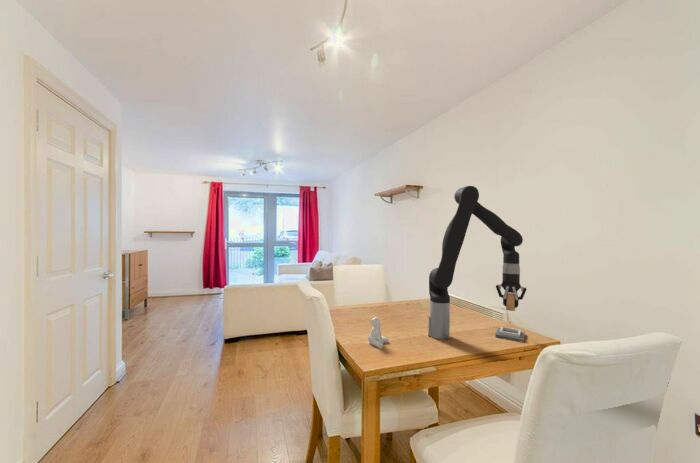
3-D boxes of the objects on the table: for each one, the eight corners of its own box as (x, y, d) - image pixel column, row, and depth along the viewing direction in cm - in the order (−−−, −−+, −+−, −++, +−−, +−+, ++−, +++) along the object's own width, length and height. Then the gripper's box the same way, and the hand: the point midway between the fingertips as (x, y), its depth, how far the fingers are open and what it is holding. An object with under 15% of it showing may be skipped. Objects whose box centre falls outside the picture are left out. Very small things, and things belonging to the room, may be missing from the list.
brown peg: (505, 310, 145) (505, 293, 145) (506, 308, 149) (506, 292, 149) (514, 311, 143) (515, 295, 143) (515, 309, 146) (515, 293, 146)
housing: (495, 336, 144) (495, 331, 144) (498, 330, 154) (498, 324, 154) (523, 342, 138) (523, 336, 138) (524, 334, 148) (524, 329, 148)
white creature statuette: (381, 349, 127) (381, 321, 127) (363, 345, 132) (364, 318, 132) (389, 342, 136) (389, 316, 136) (372, 338, 140) (372, 313, 140)
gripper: (494, 271, 146) (493, 306, 147) (527, 274, 139) (527, 310, 139) (496, 270, 153) (495, 303, 153) (528, 272, 145) (527, 307, 145)
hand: (510, 306), depth 146 cm, fingers closed on brown peg, 4 cm apart
